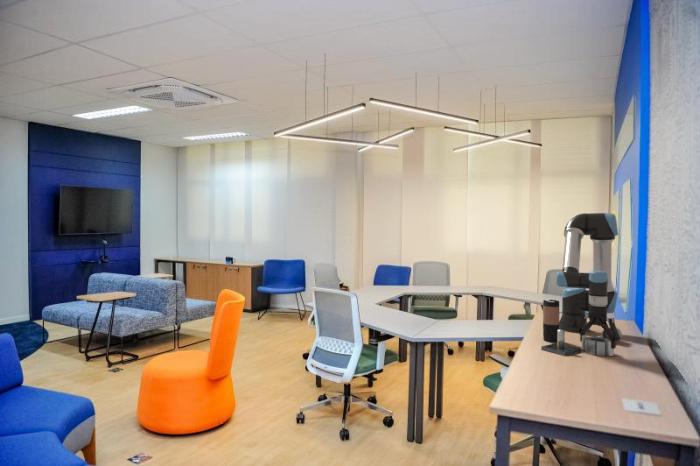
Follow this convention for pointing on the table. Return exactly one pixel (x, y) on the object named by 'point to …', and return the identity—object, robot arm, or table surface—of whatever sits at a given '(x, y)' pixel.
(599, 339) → the ring
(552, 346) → the shaft block
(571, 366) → the table surface
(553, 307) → the travel mug
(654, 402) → the table surface
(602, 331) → the ceramic mug
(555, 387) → the table surface
